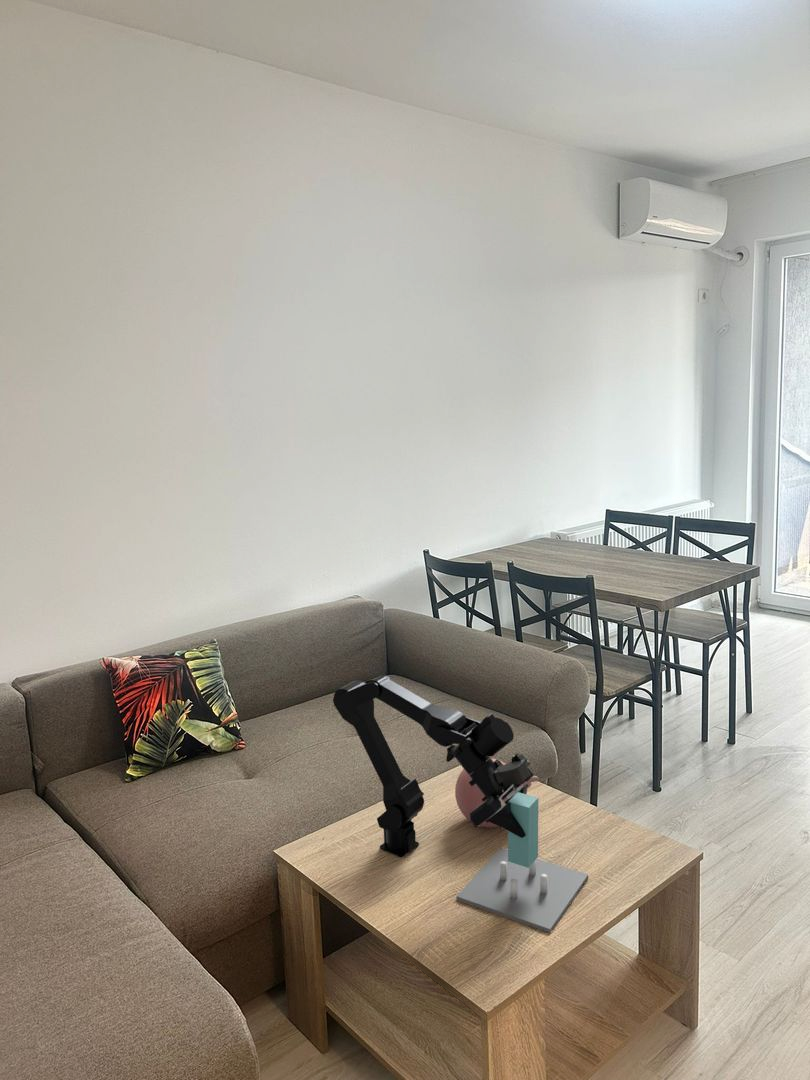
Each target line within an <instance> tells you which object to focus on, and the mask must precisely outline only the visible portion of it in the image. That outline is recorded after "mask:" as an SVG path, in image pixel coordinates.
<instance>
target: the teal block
mask: <svg viewBox="0 0 810 1080" xmlns="http://www.w3.org/2000/svg"><path fill="white" fill-rule="evenodd" d="M509 802H510V803H511V812H512V814H513V815H514V817H515V818H516V820H517V821H518V823H519V824H520V826H521V827H522V829H523V830H524V832H525V834H526V836H525V837H523V838H521V837H519V836H517V835H515V834H513V833H511V832H509V831H508V830H507V850H508V861H509V862H512V863H515V864H518V865H521V866H524V867H527V868H529V867H530V866H531V864H532V863H533V862H534V861H535V860H536V859H538V856H539V797H537V796H534V795H530V794H528V793H527V794H523V793H519V792H517V793H516V794H515V795H514V796H513V797H512V798H511V799H510V800H509V801H508V803H509Z"/></svg>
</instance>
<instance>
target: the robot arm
mask: <svg viewBox="0 0 810 1080" xmlns="http://www.w3.org/2000/svg"><path fill="white" fill-rule="evenodd" d="M374 699H377V700H378V701H380V702H382V703H384V704H386V705H387V706H389V707H391V708H392V709H394V710H396V711H397V712H399V713H400V714H403V715H404V716H405V717H408V718H409V719H410V720H413V721H414V722H416V723H417V724H419V725H420V726H421V727H422V729H423V730H424V732H425V734H426V735H427V736H428V737H429V738H431V739H432V740H433V741H434V742H435V743H437V745H440V746H441V747H444V748H446V751H447V752H446V753H447V754H446V758H445V759H446V762H447V763H449V762H451V761H452V760H454V759H455V760H456V761H457V762H458V763H459V765H460V766H461V767H462V770H463V769H464V770H465V771H466V772H467V774H468V775H469V776H470V778H471V779H472V780H471V781H470V782H469V784H470V785H471V786H473V785H474V784H476V786H477V787H478V788H479V790H480V791H481V792H482V793H483V795H484V797H483V798H482V801H483V802H482V803H481V804H480V805H478V806H477V807H476V808H475V809H474V810H473V811H472V812H471V813H470V821H469V822H471V823H472V825H473V826H474V828H477V827H480V826H479V825H480V824H481V823H483V822H484V821H485V822H486V823H488V822H491V823H493V824H495V825H497V827H499V828H501V829H504V830H506V831H507V832H508V831H509V832H511V833H513V834H515V835H517V836H519V837H521V838H523V837H525V836H526V834H525V832H524V830H523V829H522V827H521V826H520V824H519V823H518V821H517V820H516V818H515V817H514V815H513V814H512V812H511V803H510V802H509V803H508V801H509V800H510V799H511V798H512V797H513V796H514V795H515V794H516V793H517V792H519V793H523V794H527V795H528V793H527V792H528V789H529V788H528V786H529V785H528V784H527V785H525V786H524V787H523V785H522V784H523V783H524V782H525V781H528V780H529V779H530V778H531V777H533V776H535V774H534V772H532V770H531V769H530V768H529V766H530V765H531V763H530V761H529V760H528V759H527V757H526V756H525V755H523V753H522V752H519V753H515V754H514V755H513V756H512V757H511V761H509V762H508V763H506V764H505V765H503V764H502V763H501V762H500V761H501V760H500V759H497V760H496V761H494V762H493V760H492V759H491V758H492V757H494V756H495V755H496V754H498V753H499V752H500V751H502V750H503V749H504V748H505V747H507V746H508V745H509V744H510V743H511V742H513V740H514V737H515V736H514V731H513V729H512V727H511V726H510V724H509V723H508V722H507V721H505V720H504V719H502V718H499V717H496V716H495V715H493V713H489V714H488V715H487V716H486V717H484V718H483V719H482V720H481V721H480V720H477V719H474V718H470V717H469V716H466V715H465V714H464V713H462V712H461V711H459V710H457V709H454V708H451V707H449V706H446V705H445V706H443V705H435V704H433V703H431V702H430V701H427V700H426V699H424V698H423V697H421V696H419V695H417V694H415V693H413V692H412V691H410V690H409V689H407V688H405V687H403V686H402V685H400V684H398V683H396V681H393V680H392V679H391V678H390V677H389V676H387V675H384V674H383V675H382V674H381V675H379V676H376V677H375V678H371V679H368V680H365V681H362V680H359V679H356V680H353V681H351V682H349V683H348V684H346V685H344V686H341V687H340V688H339V689H338V688H337V690H335V692H334V693H333V698H332V702H333V706H334V707H335V709H336V710H337V712H338V713H339V716H341V718H342V719H343V720H344V721H345V722H346V723H348V724H349V725H351V726H352V727H354V729H355V731H356V733H357V735H358V737H359V739H360V741H361V742H360V743H361V745H362V746H363V748H364V750H365V752H366V754H367V756H368V758H369V760H370V762H371V764H372V766H373V768H374V770H375V772H376V774H377V776H378V778H379V781H380V782H381V784H382V796H383V797H382V801H383V805H384V808H385V811H384V812H383V813H381V815H379V816H378V817H377V818H376V821H377V824H378V827H379V828H380V829H383V843H382V844H380V845H379V849H380V850H382V851H384V852H387V853H390V854H391V855H394V856H396V857H398V858H404V857H405V856H406V855H408V854H409V853H410V852H412V851H413V850H414V849H416V848H417V847H419V846H420V843H419V841H417V840H416V839H417V838H416V830H415V822H413V821H412V820H413V819H414V818H415V817H418V814H419V813H420V812H421V811H422V810H423V809H424V805H425V798H424V795H425V793H424V792H423V791H422V790H421V788H420V786H419V785H420V784H419V782H418V780H417V779H416V778H413V779H411V780H410V779H409V778H408V777H406V776H405V775H404V774H403V773H402V770H401V768H400V766H399V765H398V763H397V760H396V758H395V756H394V754H393V752H392V749H391V748H390V746H389V744H388V742H387V740H386V738H385V736H384V734H383V731H382V730H381V728H380V726H379V723H378V721H377V720H376V719H377V718H375V701H374ZM489 758H490V759H489ZM488 759H489V760H488ZM499 760H500V761H499ZM502 790H504V791H502ZM497 796H498V797H497ZM505 798H507V800H506V801H505V802H504V801H503V800H504V799H505Z"/></svg>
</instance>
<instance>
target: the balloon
mask: <svg viewBox="0 0 810 1080" xmlns="http://www.w3.org/2000/svg"><path fill="white" fill-rule="evenodd" d="M490 758H491V759H492V760H493V762H494V761H496V760H499V761H500V762H501V763H502V764H503V765H505V764H507V763H505V762H504V761H502V760H500V759H498V758H492V757H490ZM490 758H489V759H490ZM489 759H488V760H489ZM456 779H457V780H456V783H455V787H454V789H455V790H454V793H455V794H454V795H455V801H456V804H457V807H458V809H459V810H460V812H461V814H462V815H463V816H464V817H465V818H466V819H467V820H468V821H469V822H471V821H470V813H471V812H472V811H473V810H474V809H475V808H476V807H477V806H478V805H480V804H481V803H482V802H483V801H482V798H483V797H484V795H483V793H482V792H481V791H480V790H479V788H478V787H477V786H476V784H474V785H473V786H471V785H470V784H469V782H470V781H471V780H472V779H471V778H470V776H469V775H468V774H467V772H466V771H465V770H464V769H463V768H462V770H461V772H460V774H459V775H458V777H457V778H456ZM539 780H540V778H539V776H536V775H534V776H533V777H531V778H530V779H529V780H528V781H525V782H524V783H523V784H522V785H523V787H524V786H525V785H527V784H528V785H529V786H528V788H527V789H530V788H531V786H532V783H534V782H538V781H539ZM502 791H504V790H502ZM497 797H498V796H497ZM506 800H507V798H505V799H504V800H503V801H504V802H505V801H506ZM478 827H482V828H495V827H496V828H497V827H498V826H497V825H495V824H493V823H491V822H488V823H486V822H485V821H484V822H483V823H481V824H480V825H479V826H478Z"/></svg>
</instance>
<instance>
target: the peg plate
mask: <svg viewBox="0 0 810 1080" xmlns="http://www.w3.org/2000/svg"><path fill="white" fill-rule="evenodd" d="M588 879H589V873H584V872H582V871H579V870H575V869H572V868H569V867H565V866H562V865H559V864H555V863H553V862H548V861H545V860H542V859H539V858H537V859H536V860H535V861H534V862H533V863H532V864H531V866H530V867H529V868H527V867H524V866H521V865H518V864H515V863H512V862H509V861H508V848H507V849H506V848H503V847H500V848H499V849H498V850H497V851H496V852H495V853H494V855H492V856H491V858H489V860H488V861H487V862H486V863H485V864H484V865H483V866H482V867H481V869H479V871H478V872H477V873H476V874H475V875H474V876H473V877H472V878H471V880H469V881H468V882H467V884H466V885H465V886H464V887H463V888H462V890H461V891H460V892H458V893H457V895H456V897H455V899H456V901H459V902H461V903H465V904H467V905H470V906H472V907H476V908H479V909H482V910H484V911H488V912H490V913H493V914H495V915H499V916H502V917H504V918H507V919H509V920H512V921H516V922H518V923H521V924H524V925H527V926H529V927H533V928H535V929H538V930H541V931H544V932H546V933H550V934H551V933H552V931H553V930H554V929H555V927H556V925H557V924H558V923H559V921H560V920H561V918H562V917H563V915H564V914H565V912H566V911H567V909H568V908H569V907H570V905H571V904H570V903H572V902H573V901H574V899H575V898H576V897H577V895H578V893H579V892H580V891H581V889H582V888H581V887H583V886H584V885H585V883H586V882H587V880H588ZM583 884H584V885H583Z"/></svg>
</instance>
